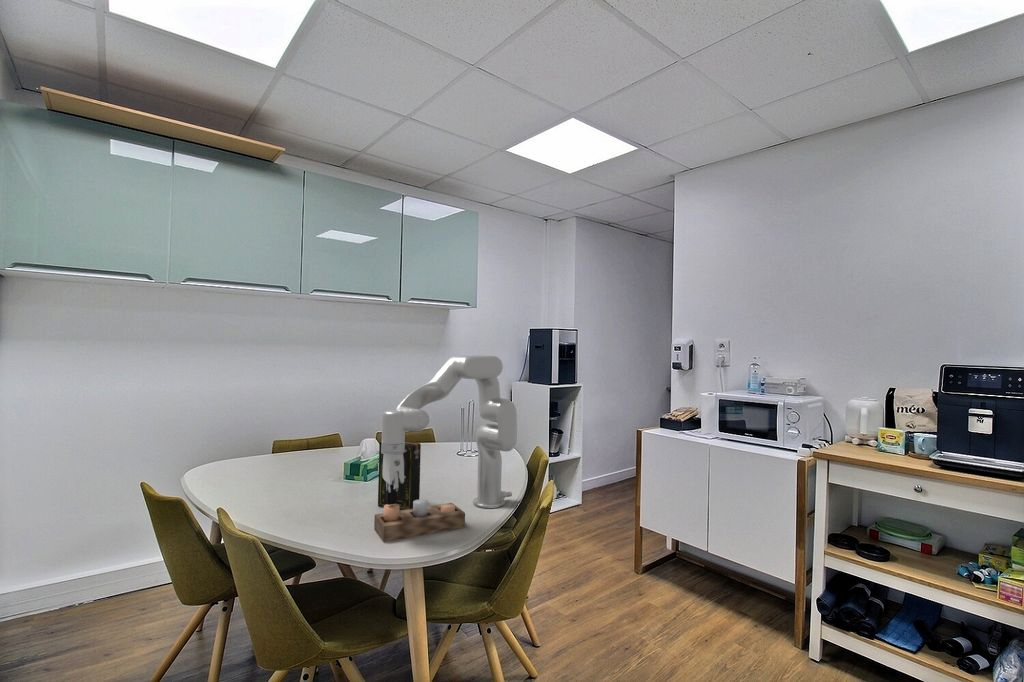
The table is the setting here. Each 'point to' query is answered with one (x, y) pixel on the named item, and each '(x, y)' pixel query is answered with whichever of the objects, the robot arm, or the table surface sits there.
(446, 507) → the button
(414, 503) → the button middle
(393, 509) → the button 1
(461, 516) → the wooden candle holder
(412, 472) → the voltmeter
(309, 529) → the table surface
